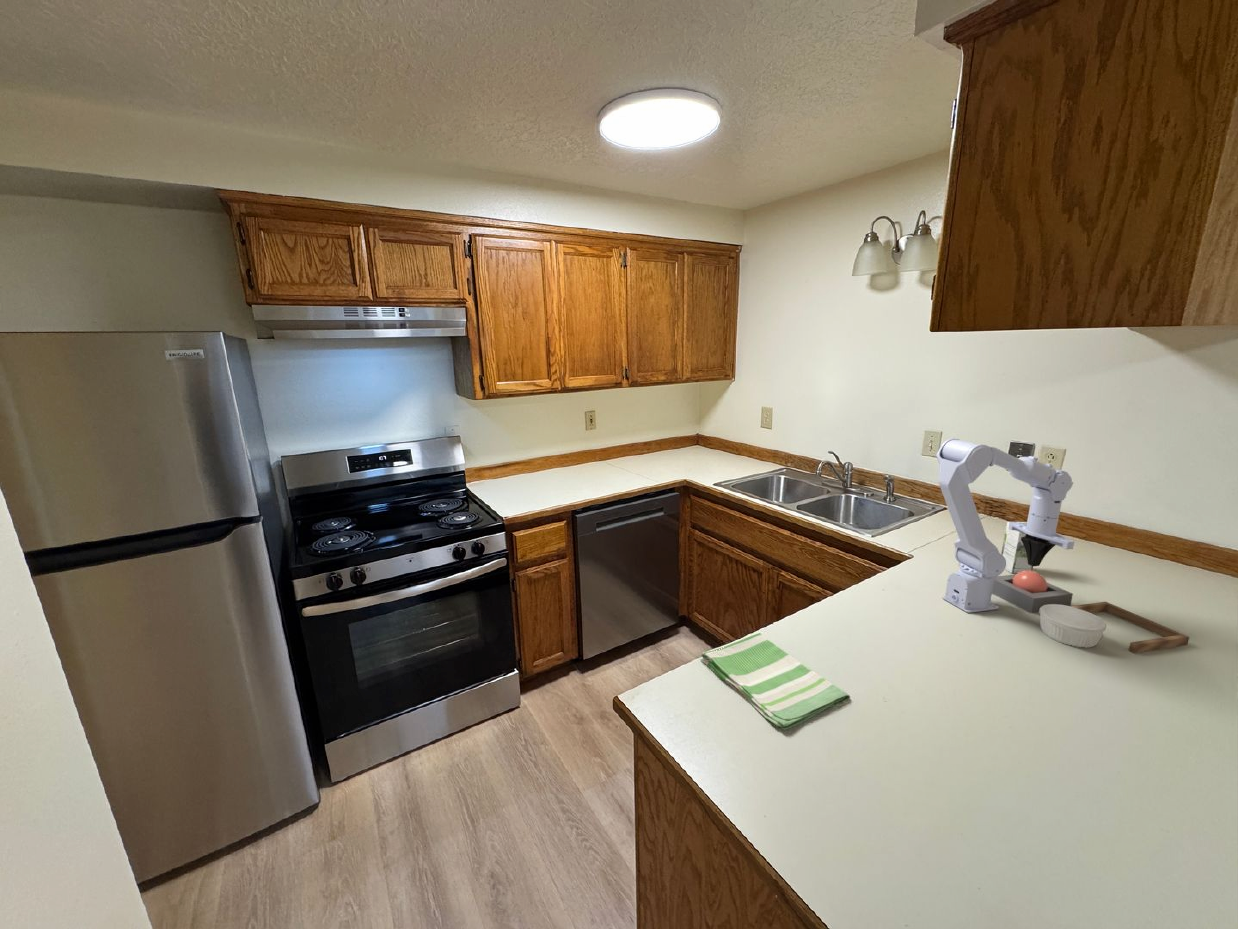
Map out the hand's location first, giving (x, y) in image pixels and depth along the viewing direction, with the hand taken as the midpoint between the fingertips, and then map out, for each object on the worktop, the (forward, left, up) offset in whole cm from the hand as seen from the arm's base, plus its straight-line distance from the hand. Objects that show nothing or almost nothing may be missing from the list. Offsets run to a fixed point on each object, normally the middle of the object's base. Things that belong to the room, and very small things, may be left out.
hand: (1033, 565), depth 125 cm
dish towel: (-81, -16, -11) cm, 84 cm away
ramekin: (-8, -16, -10) cm, 20 cm away
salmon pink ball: (0, 0, -9) cm, 9 cm away
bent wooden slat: (+6, -16, -10) cm, 20 cm away
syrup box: (+14, +15, -10) cm, 23 cm away
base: (0, 0, -10) cm, 10 cm away
